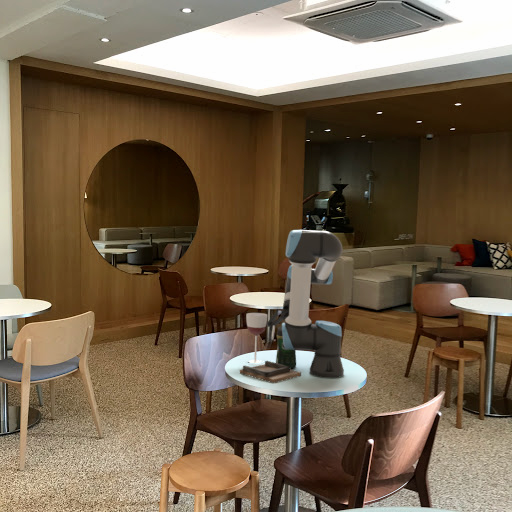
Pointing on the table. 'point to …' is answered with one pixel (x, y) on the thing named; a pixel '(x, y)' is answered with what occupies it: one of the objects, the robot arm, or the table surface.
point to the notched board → (270, 372)
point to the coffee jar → (284, 352)
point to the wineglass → (256, 327)
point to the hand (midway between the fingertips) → (286, 339)
